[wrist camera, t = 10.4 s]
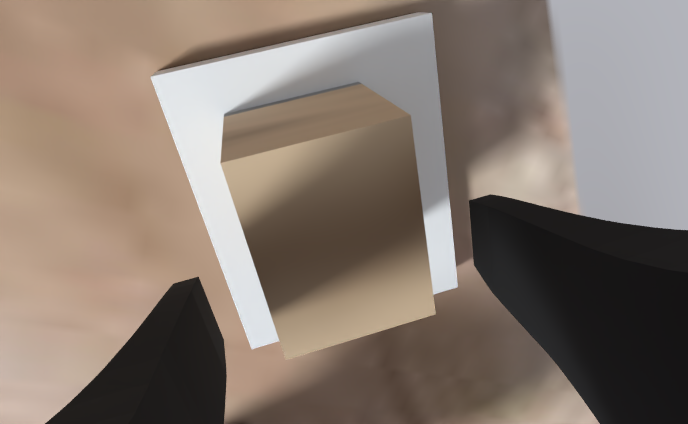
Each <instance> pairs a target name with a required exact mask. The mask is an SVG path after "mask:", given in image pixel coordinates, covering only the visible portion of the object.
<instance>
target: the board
mask: <svg viewBox="0 0 688 424" xmlns="http://www.w3.org/2000/svg"><path fill="white" fill-rule="evenodd" d="M151 80H152V82H153V85H154V88H155V90H156V93H157V96H158V98H159V101H160V104H161V106H162V109H163V112H164V115H165V117H166V120H167V123H168V125H169V128H170V131H171V133H172V136H173V139H174V141H175V144H176V147H177V149H178V152H179V155H180V158H181V160H182V163H183V166H184V168H185V171H186V174H187V176H188V179H189V182H190V184H191V187H192V190H193V193H194V195H195V198H196V201H197V203H198V206H199V209H200V211H201V214H202V217H203V219H204V222H205V225H206V228H207V230H208V233H209V236H210V238H211V241H212V244H213V246H214V249H215V252H216V254H217V257H218V260H219V262H220V265H221V268H222V271H223V273H224V276H225V279H226V281H227V284H228V287H229V289H230V292H231V295H232V297H233V300H234V303H235V306H236V308H237V311H238V314H239V316H240V319H241V322H242V324H243V327H244V330H245V332H246V335H247V338H248V341H249V343H250V346H251V349H254V348H257V347H261V346H264V345H267V344H271V343H274V342H277V341H279V338H278V335H277V332H276V329H275V326H274V323H273V320H272V317H271V314H270V311H269V308H268V305H267V302H266V299H265V296H264V293H263V290H262V287H261V284H260V281H259V278H258V275H257V272H256V269H255V266H254V263H253V260H252V257H251V254H250V251H249V248H248V245H247V242H246V239H245V236H244V233H243V230H242V227H241V224H240V221H239V218H238V215H237V212H236V209H235V206H234V203H233V200H232V197H231V194H230V191H229V188H228V185H227V182H226V179H225V176H224V173H223V170H222V167H221V164H220V161H221V148H222V134H223V120H224V114H227V113H231V112H235V111H239V110H243V109H247V108H251V107H256V106H260V105H264V104H268V103H272V102H276V101H281V100H285V99H289V98H293V97H297V96H301V95H306V94H310V93H314V92H318V91H322V90H326V89H330V88H335V87H339V86H343V85H347V84H351V83H355V82H360V83H361V84H363V85H365V86H366V87H368V88H369V89H371V90H372V91H374V92H375V93H377V94H379V95H380V96H382V97H383V98H385V99H386V100H388V101H390V102H391V103H393V104H394V105H396V106H397V107H399V108H400V109H402V110H404V111H405V112H407V113H408V114H410V115H411V121H412V129H413V137H414V145H415V153H416V161H417V169H418V177H419V185H420V193H421V201H422V209H423V217H424V225H425V232H426V240H427V248H428V256H429V264H430V272H431V280H432V288H433V295H434V294H437V293H440V292H444V291H447V290H450V289H453V288H457V287H458V283H457V273H456V262H455V252H454V241H453V231H452V220H451V209H450V199H449V188H448V178H447V167H446V157H445V146H444V136H443V125H442V114H441V104H440V93H439V83H438V72H437V62H436V51H435V40H434V30H433V19H432V13H425V12H417V13H412V14H408V15H403V16H399V17H395V18H390V19H386V20H381V21H377V22H372V23H368V24H364V25H359V26H355V27H350V28H346V29H342V30H337V31H333V32H328V33H324V34H319V35H315V36H311V37H306V38H302V39H297V40H293V41H288V42H284V43H280V44H275V45H271V46H266V47H262V48H258V49H253V50H249V51H244V52H240V53H235V54H231V55H227V56H222V57H218V58H213V59H209V60H204V61H200V62H196V63H191V64H187V65H182V66H178V67H174V68H169V69H165V70H160V71H156V72H155V73H154V74H153V75H152V76H151Z"/></svg>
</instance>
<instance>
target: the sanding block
mask: <svg viewBox="0 0 688 424" xmlns="http://www.w3.org/2000/svg"><path fill="white" fill-rule="evenodd" d="M220 164H221V167H222V170H223V173H224V176H225V179H226V182H227V185H228V188H229V191H230V194H231V197H232V200H233V203H234V206H235V209H236V212H237V215H238V218H239V221H240V224H241V227H242V230H243V233H244V236H245V239H246V242H247V245H248V248H249V251H250V254H251V257H252V260H253V263H254V266H255V269H256V272H257V275H258V278H259V281H260V284H261V287H262V290H263V293H264V296H265V299H266V302H267V305H268V308H269V311H270V314H271V317H272V320H273V323H274V326H275V329H276V332H277V335H278V338H279V341H280V344H281V347H282V350H283V353H284V356H285V359H286V360H288V359H291V358H295V357H298V356H301V355H304V354H308V353H311V352H314V351H318V350H321V349H324V348H327V347H331V346H334V345H337V344H340V343H344V342H347V341H350V340H353V339H357V338H360V337H363V336H366V335H370V334H373V333H376V332H380V331H383V330H386V329H389V328H393V327H396V326H399V325H402V324H406V323H409V322H412V321H415V320H419V319H422V318H425V317H429V316H432V315H435V314H436V312H435V304H434V296H433V288H432V280H431V272H430V264H429V256H428V248H427V240H426V232H425V225H424V217H423V209H422V201H421V193H420V185H419V177H418V169H417V161H416V153H415V145H414V137H413V129H412V121H411V115H410V114H408V113H407V112H405V111H404V110H402V109H400V108H399V107H397V106H396V105H394V104H393V103H391V102H390V101H388V100H386V99H385V98H383V97H382V96H380V95H379V94H377V93H375V92H374V91H372V90H371V89H369V88H368V87H366V86H365V85H363V84H361V83H360V82H355V83H351V84H347V85H343V86H339V87H335V88H330V89H326V90H322V91H318V92H314V93H310V94H306V95H301V96H297V97H293V98H289V99H285V100H281V101H276V102H272V103H268V104H264V105H260V106H256V107H251V108H247V109H243V110H239V111H235V112H231V113H227V114H224V120H223V134H222V148H221V161H220Z"/></svg>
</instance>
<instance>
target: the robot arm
mask: <svg viewBox="0 0 688 424" xmlns="http://www.w3.org/2000/svg"><path fill="white" fill-rule="evenodd" d="M469 207H470V220H471V233H472V246H473V259H474V266H475V267H476V269H477V270H478V272H479V273H480V275H481V277H482V278H483V280H484V281H485V283H486V284H487V285H488V287H489V288H490V290H491V291H492V293H493V294H494V295H495V296H496V297H497V298H498V300H499V301H500V302H501V303H502V304H503V305H504V306H505V307H506V308H507V309H508V311H509V312H510V313H511V314H512V315H513V316H514V317H515V318H516V319H517V320H518V322H519V323H520V324H521V325H522V326H523V327H524V328H525V329H526V330H527V331H528V332H529V333H530V335H531V336H532V337H533V338H534V339H535V340H536V341H537V342H538V343H539V344H540V345H541V347H542V348H543V349H544V350H545V351H546V352H547V353H548V354H549V356H550V357H551V358H552V359H553V360H554V361H555V363H556V364H557V365H558V366H559V368H560V369H561V370H562V372H563V373H564V374H565V376H566V377H567V378H568V380H569V381H570V382H571V384H572V385H573V386H574V388H575V389H576V391H577V392H578V393H579V395H580V396H581V397H582V399H583V400H584V402H585V403H586V404H587V406H588V407H589V409H590V410H591V412H592V413H593V414H594V416H595V417H596V419H597V420H598V422H599V423H600V424H688V230H673V229H663V228H653V227H645V226H638V225H631V224H623V223H617V222H611V221H605V220H600V219H596V218H591V217H586V216H581V215H576V214H572V213H568V212H563V211H559V210H555V209H551V208H547V207H543V206H539V205H536V204H532V203H528V202H524V201H520V200H516V199H512V198H507V197H503V196H497V195H487V196H484V197H480V198H476V199H473V200H469ZM226 376H227V375H226V360H225V349H224V339H223V337H222V334H221V332H220V329H219V327H218V324H217V322H216V319H215V317H214V314H213V312H212V309H211V307H210V304H209V302H208V299H207V297H206V294H205V292H204V289H203V287H202V284H201V282H200V279H199V277H196V278H192V279H189V280H185V281H182V282H178V283H174V284H173V285H172V286H171V287H170V288H169V290H168V291H167V292H166V293H165V295H164V296H163V297H162V299H161V300H160V301H159V302H158V304H157V305H156V306H155V308H154V309H153V310H152V312H151V313H150V314H149V315H148V317H147V318H146V319H145V320H144V322H143V323H142V324H141V326H140V327H139V328H138V329H137V331H136V332H135V333H134V334H133V336H132V337H131V338H130V339H129V340H128V341H127V343H126V344H125V345H124V346H123V347H122V348H121V350H120V351H119V352H118V353H117V354H116V355H115V356H114V358H113V359H112V360H111V361H110V362H109V363H108V364H107V366H106V367H105V368H104V369H103V370H102V371H101V372H100V373H99V374H98V375H97V376H96V377H95V378H94V379H93V380H92V381H91V382H90V383H89V384H88V385H87V386H86V387H85V388H84V389H83V390H82V391H81V392H80V393H79V394H78V395H77V396H76V397H75V398H74V399H73V400H72V401H71V402H70V403H69V404H67V405H66V406H65V407H64V408H63V409H62V410H61V411H60V412H58V413H57V414H56V415H55V416H54V417H52V418H51V419H50V420H49V421H48V422H47V423H45V424H224V412H225V395H226Z"/></svg>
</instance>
